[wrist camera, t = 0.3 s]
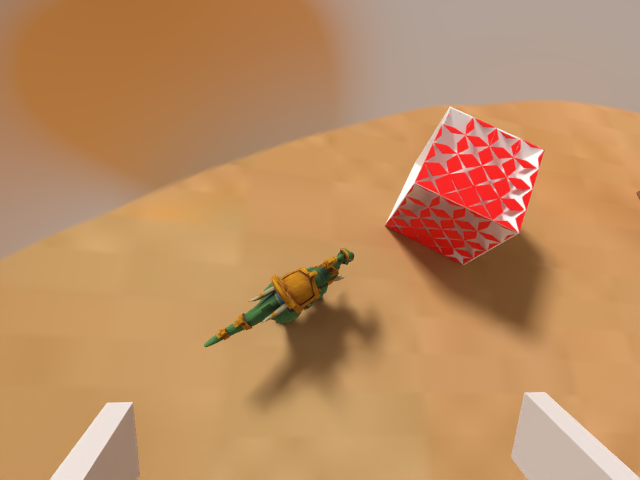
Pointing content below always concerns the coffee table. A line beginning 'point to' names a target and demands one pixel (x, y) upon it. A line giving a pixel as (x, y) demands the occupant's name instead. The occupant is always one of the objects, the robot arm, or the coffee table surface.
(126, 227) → the coffee table surface
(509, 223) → the red patterned cube
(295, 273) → the figurine
